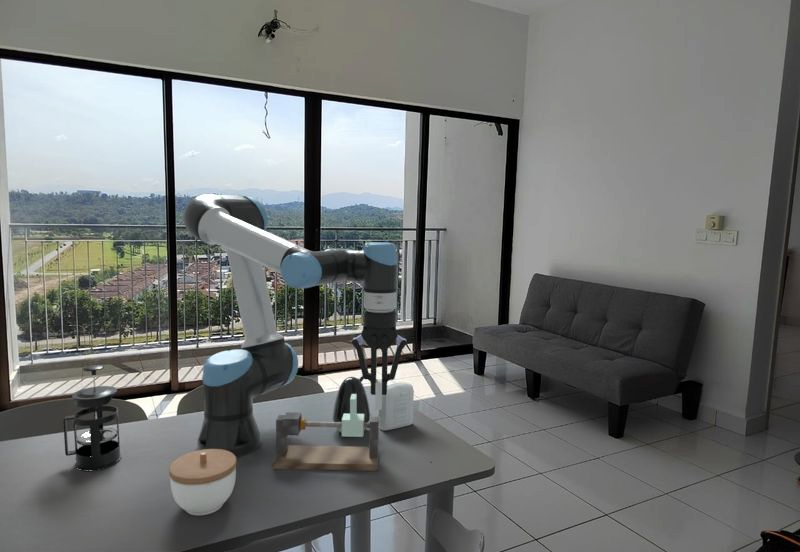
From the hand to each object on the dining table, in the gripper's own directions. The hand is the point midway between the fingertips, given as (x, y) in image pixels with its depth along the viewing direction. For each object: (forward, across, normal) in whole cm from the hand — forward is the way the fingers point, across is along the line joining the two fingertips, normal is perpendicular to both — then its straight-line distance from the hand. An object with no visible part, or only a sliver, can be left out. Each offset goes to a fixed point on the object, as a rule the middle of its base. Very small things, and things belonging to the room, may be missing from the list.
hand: (378, 407), depth 123 cm
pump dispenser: (+14, -8, +17) cm, 23 cm away
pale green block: (+6, -6, 0) cm, 9 cm away
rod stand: (+13, -12, 0) cm, 18 cm away
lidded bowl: (+14, -34, -20) cm, 42 cm away
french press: (+14, -66, -3) cm, 67 cm away
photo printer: (+14, +4, +21) cm, 25 cm away
